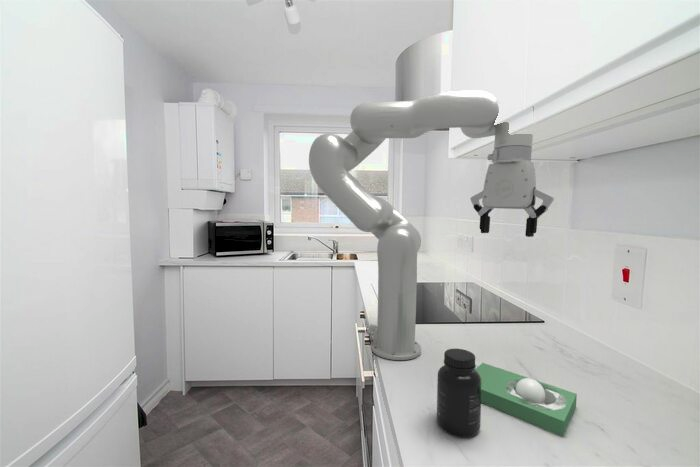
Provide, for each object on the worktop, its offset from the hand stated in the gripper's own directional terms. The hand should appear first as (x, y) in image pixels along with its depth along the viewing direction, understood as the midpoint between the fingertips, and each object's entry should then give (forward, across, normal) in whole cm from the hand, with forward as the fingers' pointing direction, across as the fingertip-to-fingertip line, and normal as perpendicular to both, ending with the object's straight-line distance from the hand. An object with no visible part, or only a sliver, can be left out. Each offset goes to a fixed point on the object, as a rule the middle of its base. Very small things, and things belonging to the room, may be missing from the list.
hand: (506, 234), depth 73 cm
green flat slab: (+30, +8, -12) cm, 33 cm away
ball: (+28, +11, -12) cm, 32 cm away
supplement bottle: (+31, +4, -27) cm, 41 cm away
